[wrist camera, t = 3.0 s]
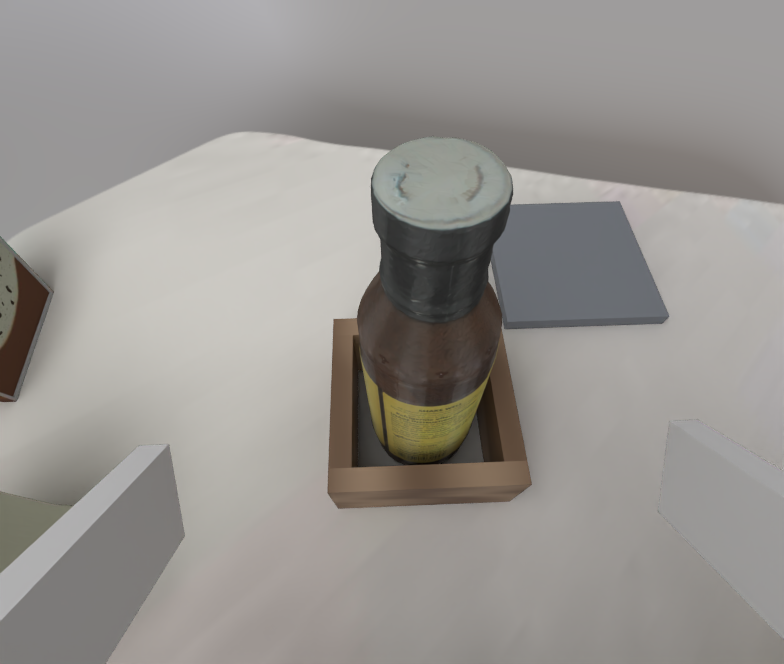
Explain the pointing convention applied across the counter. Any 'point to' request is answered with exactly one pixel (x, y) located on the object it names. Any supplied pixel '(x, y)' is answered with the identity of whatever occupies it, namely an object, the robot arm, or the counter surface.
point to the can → (23, 524)
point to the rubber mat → (573, 268)
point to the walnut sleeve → (423, 482)
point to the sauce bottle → (432, 294)
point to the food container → (18, 319)
